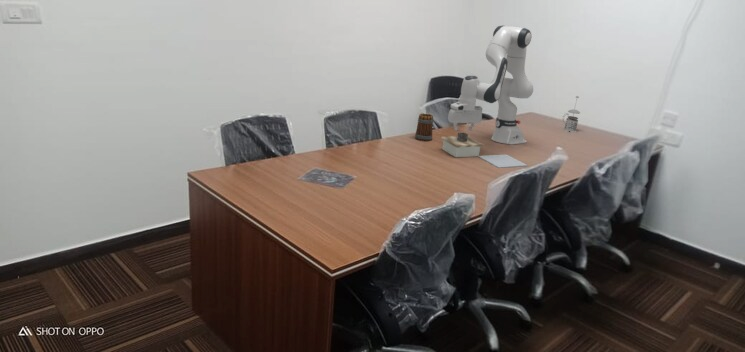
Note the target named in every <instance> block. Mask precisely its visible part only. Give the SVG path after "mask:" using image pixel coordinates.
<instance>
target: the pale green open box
mask: <svg viewBox="0 0 745 352" xmlns="http://www.w3.org/2000/svg"><path fill="white" fill-rule="evenodd" d="M441 149H442V150H443V151H444V152H446V153H448V154H449V155H451V156H453V157H454V158H470V157H471V158H472V157H473V158H474V157H478V156H480V150H481V147H459V148H456V147H455V146H453V145H451V144H449V143H448V142H446V141H444V140H442V148H441Z"/></svg>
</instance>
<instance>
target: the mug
mask: <svg viewBox="0 0 745 352" xmlns="http://www.w3.org/2000/svg"><path fill="white" fill-rule="evenodd" d="M433 123H434V115H433V114H431V113H429V112H426V113H424V112H423V113H419V115H418V118H417V126H416V130H415V131H416V132H415V135H414V138H415V140H418V141H420V142H431V141H432V140H433V129H434V128H433V127H434V125H433Z"/></svg>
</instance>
